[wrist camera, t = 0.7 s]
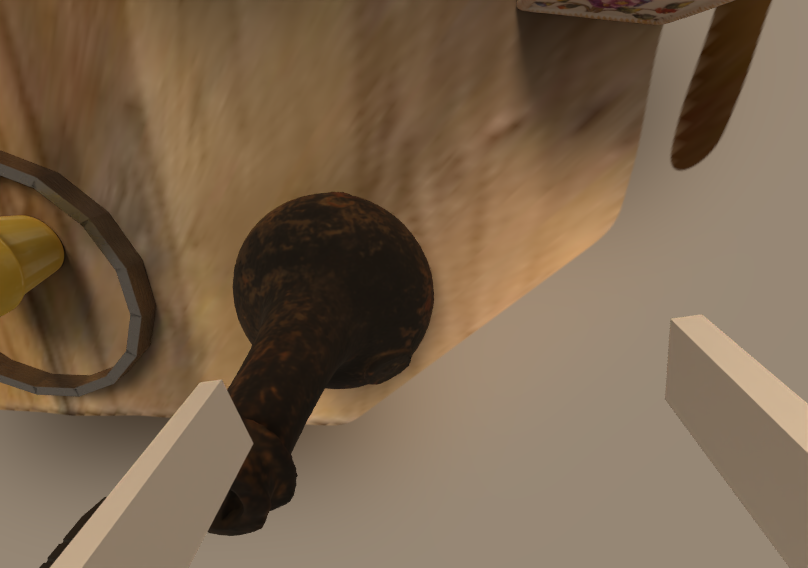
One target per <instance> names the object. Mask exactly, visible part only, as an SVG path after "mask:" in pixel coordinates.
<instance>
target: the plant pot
mask: <svg viewBox="0 0 808 568" xmlns="http://www.w3.org/2000/svg"><path fill="white" fill-rule="evenodd" d="M63 261H64V250H63V246H62V244H61V241H60V239H59V238H58V236H57V235H56V234H55V233H54V231H53V230H52V229H51V228H50V227H49V226H47V225H46V224H45V223H43V222H42V221H40V220H38V219H36V218H33V217H29V216H22V215H19V216H1V217H0V317H1V316H3V315H4V314H6V313H8V312H10V311H12V310H13V309H14V308H16V307H17V306H18V305H19V303H20V302H21V300H22V298H23V296H24V294H26V293H27V292H28V291H30V290H31V289H32V288H34V287H35V286H37V285H38V284H39V283H41V282H42V281H43V280H45V279H46V278H47V277H49V276H50V275H52V274H53V273H54V272H56V271H57V270H58V269H59V268H60V267H61V266H62V264H63Z"/></svg>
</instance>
